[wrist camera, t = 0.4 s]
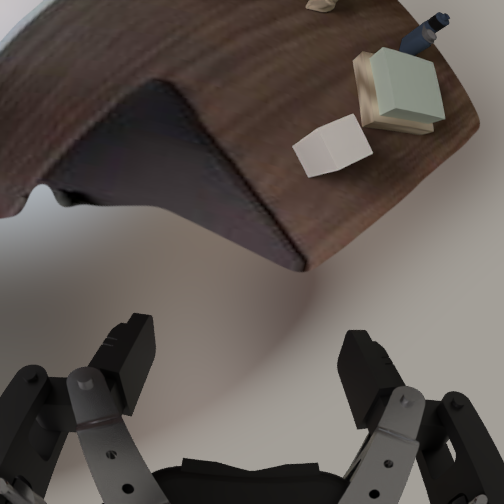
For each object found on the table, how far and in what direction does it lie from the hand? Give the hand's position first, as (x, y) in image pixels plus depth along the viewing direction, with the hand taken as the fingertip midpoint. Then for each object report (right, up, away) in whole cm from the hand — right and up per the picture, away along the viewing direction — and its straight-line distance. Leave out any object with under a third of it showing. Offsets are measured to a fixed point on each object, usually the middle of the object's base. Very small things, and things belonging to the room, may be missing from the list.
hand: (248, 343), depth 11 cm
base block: (+21, +27, +25) cm, 42 cm away
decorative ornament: (+11, +43, +21) cm, 49 cm away
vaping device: (+26, +38, +23) cm, 52 cm away
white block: (+8, +16, +25) cm, 31 cm away
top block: (+21, +26, +21) cm, 40 cm away
